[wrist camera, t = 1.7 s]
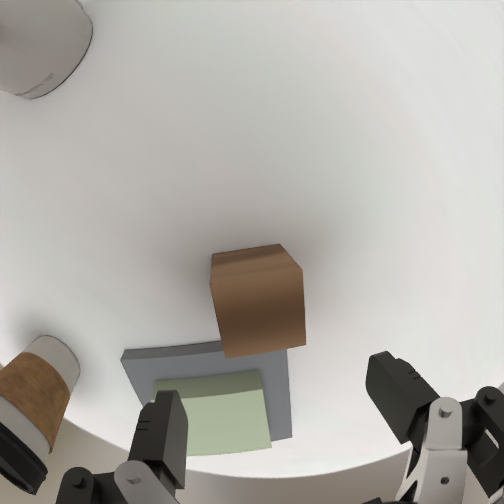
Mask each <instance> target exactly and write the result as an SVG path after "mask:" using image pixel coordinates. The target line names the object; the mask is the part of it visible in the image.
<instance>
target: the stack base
mask: <svg viewBox="0 0 504 504" xmlns="http://www.w3.org/2000/svg"><path fill="white" fill-rule="evenodd" d="M120 361H121V363H122V365H123V367H124V369H125V372H126V374H127V376H128V378H129V380H130V382H131V384H132V386H133V388H134V390H135V392H136V394H137V396H138V398H139V400H140V402H141V404H142V406H143V407H144V406H145V405H146V404H147V403H148V402H155V398H156V394H157V391H158V390H177V391H178V393H179V396H180V399H181V401H182V404H183V406H184V409H185V411H186V414H187V417H188V439H187V452H186V456H204V455H219V454H230V453H239V452H247V451H254V450H261V449H267V448H272V446H271V441H277V440H282V439H287V438H292V424H291V407H290V392H289V377H288V364H287V351H286V349H283V350H278V351H272V352H267V353H261V354H255V355H249V356H243V357H236V358H229V359H226V358H225V354H224V350H223V345H222V341H217V342H209V343H201V344H193V345H184V346H174V347H163V348H151V349H137V350H125V351H124V353H123V355H122V357H121V359H120Z"/></svg>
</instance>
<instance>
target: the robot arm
mask: <svg viewBox="0 0 504 504" xmlns="http://www.w3.org/2000/svg"><path fill="white" fill-rule="evenodd" d="M91 36H92V24H91V20H90V19H89V17H88V16H87V15H86V14H85V12H84V11H83V10H82V5H81V4H80V2H79V1H78V0H0V90H2V91H5V92H8V93H12V94H15V95H18V96H21V97H25V98H37V97H39V96H42V95H44V94H46V93H48V92H50V91H51V90H53V89H54V88H56V87H57V86H58V85H59V84H60V83H62V82H63V81H64V80H65V79H66V78H67V77H68V76H69V75H70V74H71V72H72V71H73V70H74V69H75V67H76V66H77V65H78V64H79V62H80V60H81V59H82V57H83V56H84V54H85V52H86V50H87V48H88V46H89V43H90V39H91ZM366 390H367V392H368V394H369V396H370V398H371V399H372V401H373V402H374V404H375V405H376V407H377V408H378V410H379V411H380V413H381V414H382V416H383V417H384V419H385V420H386V422H387V424H388V425H389V427H390V428H391V430H392V431H393V433H394V434H395V436H396V437H397V439H398V441H399V442H400V444H403V443H406V442H408V441H411V443H412V446H411V449H410V454H409V459H408V463H407V467H406V471H405V475H404V479H403V482H402V485H401V487H400V489H399V491H398V493H397V495H396V498H395V500H394V501H385V502H382V501H381V499H380V497H378V498H376V499H373V500H371V501H368V502H365V503H363V504H462V500H463V494H464V487H465V478H466V469H467V464H468V466H469V467H470V469H471V470H472V472H473V473H474V475H475V477H476V478H477V480H478V481H479V483H480V484H481V486H482V488H483V489H484V491H485V492H486V494H487V496H488V498H489V502H488V504H504V394H503V393H502V392H501V391H500V390H498V389H497V388H495V387H491V386H487V387H483V388H481V389H480V390H479V391H478V393H477V395H476V397H475V398H474V399H470V400H466V401H462V402H458V401H457V400H455V399H453V398H450V397H440V396H439V395H438V394H437V393H436V392H435V391H434V390H433V388H432V387H431V386H430V385H429V384H428V383H427V382H426V381H425V380H424V379H423V378H422V377H421V375H420V374H419V373H418V372H417V371H415V369H414V368H413V367H412V366H411V365H410V364H409V363H408V362H406V361H404V360H402V359H400V358H398V359H395V358H394V357H393V356H392V355H391V354H390V353H389V352H388V351H384V352H381V353H377V354H374V355H371V356H370V358H369V363H368V369H367V376H366ZM487 429H488V431H489V432H490V433H491V434H492V436H493V437H494V438H495V440H496V441H497V442H498V445H499V449H498V448H497V447H496V445H495V444H494V443H493V441H492V440H491V439H490V438H489V436H488V435H487V434H486V432H485V431H486V430H487ZM187 439H188V417H187V414H186V411H185V409H184V406H183V404H182V401H181V399H180V396H179V393H178V391H177V390H158V391H157V394H156V398H155V402H148V403H147V404H146V405H145V406H144V408H143V409H142V410H141V411H140V415H139V419H138V423H137V426H136V431H135V433H134V437H133V441H132V445H131V449H130V453H129V457H128V460H127V461H126V462H124V463H122V464H121V465H119V466H118V467H117V469H116V470H115V471H114V472H111V473H102V474H92V473H91V472H90V471H89V470H87V469H85V468H83V467H74V468H71V469H69V470H68V471H67V472H66V473H65V474H64V476H63V478H62V482H61V485H60V489H59V492H58V496H57V500H56V504H180V503H179V502H178V501H177V500H176V499H175V490H176V489H184V486H185V484H184V483H185V468H186V452H187Z"/></svg>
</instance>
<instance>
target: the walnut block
mask: <svg viewBox="0 0 504 504" xmlns="http://www.w3.org/2000/svg"><path fill="white" fill-rule="evenodd" d="M210 288H211V293H212V298H213V303H214V308H215V313H216V318H217V322H218V327H219V332H220V336H221V341H222V345H223V350H224V354H225V358H226V359H229V358H236V357H243V356H249V355H255V354H261V353H267V352H272V351H278V350H283V349H288V348H293V347H298V346H303V345H306V329H305V307H304V289H303V274H302V269H301V268H300V267H299V265H298V264H297V263H296V262H295V261H294V260H293V258H292V257H291V256H290V255H289V254H288V253H287V252H286V250H285V249H284V248H283V247H282V246H281V245H280V244H275V245H268V246H261V247H255V248H248V249H242V250H235V251H229V252H222V253H215V254H213V255H212V266H211V277H210Z"/></svg>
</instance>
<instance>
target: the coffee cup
mask: <svg viewBox="0 0 504 504" xmlns="http://www.w3.org/2000/svg"><path fill="white" fill-rule="evenodd" d="M79 374H80V367H79V364H78V361H77V359H76V358H75V356H74V354H73V353H72V352H71V351H70V349H69V348H68V347H67V346H66V345H65V344H63V343H62V342H61V341H59V340H57V339H56V338H53V337H50V336H41V337H39V338H38V339H36V340H35V341H34V342H33V343H32V344H31V345H30V346H28V347H27V348H26V349H25V350H24V351H23V352H22V353H20V354H19V355H18V356H17V357H16V358H14V359H13V360H12V361H11V362H10V363H9V364H8V365H6V366H5V367H4V368H3V369H2V370H1V371H0V474H1V475H3V476H4V477H5V478H6V479H7V480H9V481H10V482H11V483H12V484H14V485H15V486H17V487H18V488H20V489H21V490H23V491H25V492H27V493H29V494H33V495H36V493H37V491H38V489H39V487H40V485H41V483H42V482H43V481H44V480H45V479H46V475H47V473H48V471H47V468H46V466H45V464H46V460H47V457H48V454H50V453H51V452H52V449H53V446H54V443H55V439H56V436H57V433H58V430H59V427H60V424H61V421H62V418H63V416H64V413H65V410H66V407H67V404H68V402H69V399H70V396H71V393H72V391H73V389H74V386H75V384H76V382H77V380H78V377H79Z"/></svg>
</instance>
